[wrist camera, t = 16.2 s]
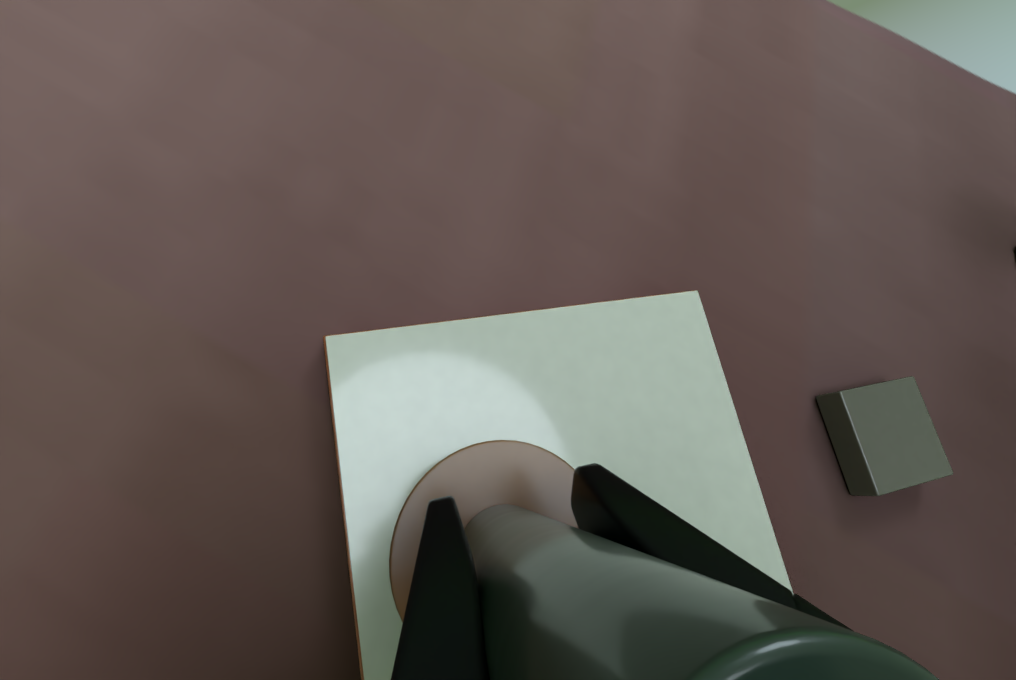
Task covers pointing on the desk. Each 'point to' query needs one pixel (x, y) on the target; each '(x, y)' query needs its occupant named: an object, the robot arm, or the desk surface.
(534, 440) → the white tile
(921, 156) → the desk surface
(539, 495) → the cylinder on round base
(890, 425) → the grey square tile
